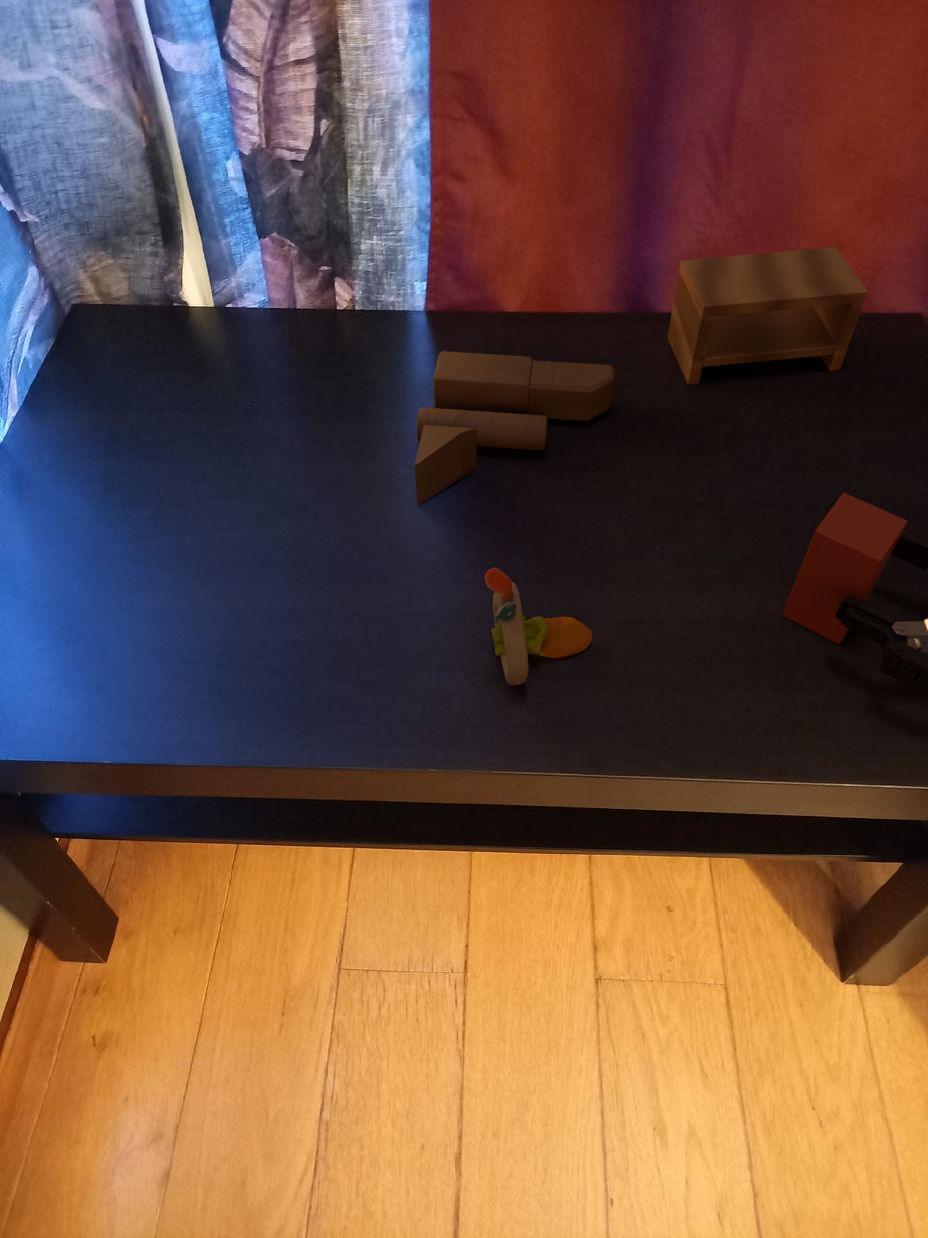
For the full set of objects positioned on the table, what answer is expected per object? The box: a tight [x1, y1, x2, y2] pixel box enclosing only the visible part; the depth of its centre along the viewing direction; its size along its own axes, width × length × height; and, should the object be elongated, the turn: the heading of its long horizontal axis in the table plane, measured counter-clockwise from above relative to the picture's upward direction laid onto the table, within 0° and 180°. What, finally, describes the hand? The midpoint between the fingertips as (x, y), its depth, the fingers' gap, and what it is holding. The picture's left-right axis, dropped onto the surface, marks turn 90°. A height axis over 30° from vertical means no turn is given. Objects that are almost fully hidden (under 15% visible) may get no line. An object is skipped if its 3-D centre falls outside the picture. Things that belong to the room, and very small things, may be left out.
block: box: [781, 492, 908, 645], centre depth 73 cm, size 5×5×10 cm
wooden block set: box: [414, 350, 616, 506], centre depth 87 cm, size 17×6×18 cm
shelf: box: [666, 246, 869, 386], centre depth 95 cm, size 16×8×9 cm, turn 97°
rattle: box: [484, 567, 593, 686], centre depth 70 cm, size 8×8×12 cm
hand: (863, 570), depth 72 cm, fingers open, 8 cm apart
